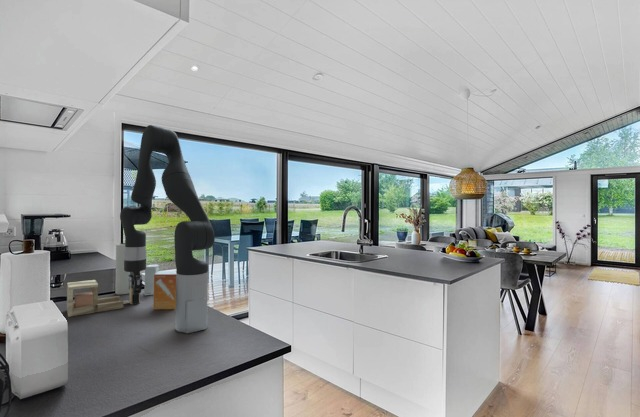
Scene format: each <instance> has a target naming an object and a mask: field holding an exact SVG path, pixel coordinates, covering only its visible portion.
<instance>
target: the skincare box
mask: <svg viewBox="0 0 640 417" xmlns="http://www.w3.org/2000/svg"><path fill="white" fill-rule="evenodd" d="M159 266H160V265H159V264H148V265H146V269H145V270H144V287H143V288H144V292H143V293H144V294H143V295H144V296H154V274H156V273H158V272H159V270H160V267H159Z"/></svg>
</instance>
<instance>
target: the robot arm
mask: <svg viewBox="0 0 640 417" xmlns="http://www.w3.org/2000/svg"><path fill="white" fill-rule="evenodd" d="M153 152H154V153H160V154H163V155H165V156H166V157H167V161H168V163H167V165H166V166H165V168H164V170H163V171H162V173H161V184H162V187H163V190H164V193H165V196H166V197H167V199H168V200H169V201H170V202H171V203H172V204H174V205H175V207H177V208H178V209H179V210H180V211H182V212H183V213H184V214H185V215H186V216H187V218H188V219H189V220H187V221H186V220H183V221H179V222H178V223H177V224H176V226H175V229H174V235H173V236H174V237H173V238H174V241H173V242H174V262H175V263H174V264H175V271H176V309H175V322H174V324H175V327H174V329H175V331H176V332H179V333H184V334H191V333H194V332H195V333H196V332H199V331H205V330H207V328H208V295H209V294H208V293H209V292H208V291H209V288H208V285H209V264H208V262H206V261H203V260H200V259H197V258H195V257H194V255H193V254H194V253H193V252H194V251H202V250H208V249H211V248H212V247H213V246H214V244H215V240H216V239H215V230H214V227H213V224H212V223H211V221H210V218H209V216H208V214H207V213H206V211H205V209H204V208H203V206H202V203H201V201H200V199H199V196H198V194H197V191H196V189H195V185H194V183H193V180H192V178H191V175H190V172H189V170H188V167H187V165H186V162H185V159H184V156H183V153H182V147H181V144H180V140H179V138H178V135H177V133H176V132H175V131H174V130H171V129H170V128H169V129H168V128H164V127H161V126H158V125H153V124H150V125H147V126H146V127H145V128H144V131H143V132H142V136H141V140H140V146H139V155H138V162H137V172H136V177H135V180H134V181H135V182H134V185H133V188H132V192H131V195H130V198H131V199H130V200H131V201H132V202H133V203H135V204H138V205H140V206H125V207H124V208H122V209H121V211H120V214H119V219H120V223H121V226H122V229H123V232H124V233H123V234H124V236H125V237H124V243H125V251H124V271H126V272H130V275H128V281H129V290H130V287H131V288H132V304H131V305H138V304H140V303H139V294H140V295H141V294H142V287H143V277H142V274H141V272H143V271H145V269H146V266H147V233H146V232H145V231H142V230H137V229H136V228H135V226H136V225H137V226H138V225H139V226H140V225H142V226H143V225H147V224H149V222H150V221H151V220H152V216H153V215H152V214H153V211H152V203H153V202H152V201H153V200H152V199H153V196H154V193H155V190H156V187H157V180H156V176H155V173H154V171H153V167H152V163H151V159H152V153H153ZM136 289H138V290H136Z"/></svg>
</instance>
